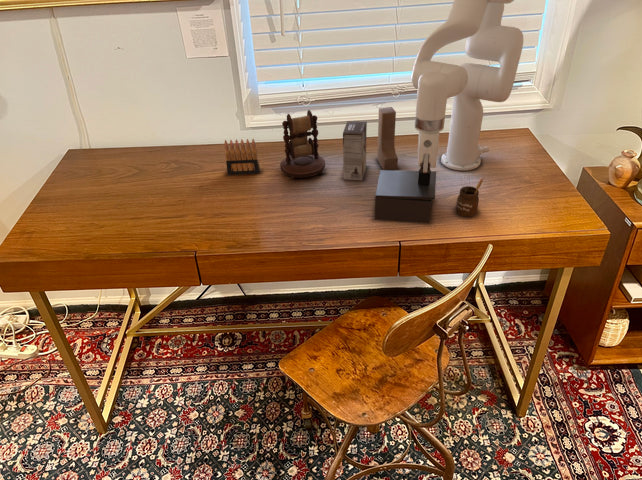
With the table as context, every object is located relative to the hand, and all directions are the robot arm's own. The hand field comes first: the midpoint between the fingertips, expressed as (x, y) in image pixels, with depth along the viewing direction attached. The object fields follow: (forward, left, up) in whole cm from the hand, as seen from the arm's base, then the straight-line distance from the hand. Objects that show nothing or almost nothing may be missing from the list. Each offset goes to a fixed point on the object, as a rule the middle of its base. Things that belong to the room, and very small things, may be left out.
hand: (423, 183), depth 154 cm
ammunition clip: (+39, -46, -9) cm, 61 cm away
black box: (+4, -3, -9) cm, 10 cm away
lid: (+4, -3, -1) cm, 5 cm away
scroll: (+21, -38, -9) cm, 44 cm away
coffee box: (+7, -28, -9) cm, 30 cm away
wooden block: (-5, -28, -9) cm, 30 cm away
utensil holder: (-11, +7, -9) cm, 15 cm away
